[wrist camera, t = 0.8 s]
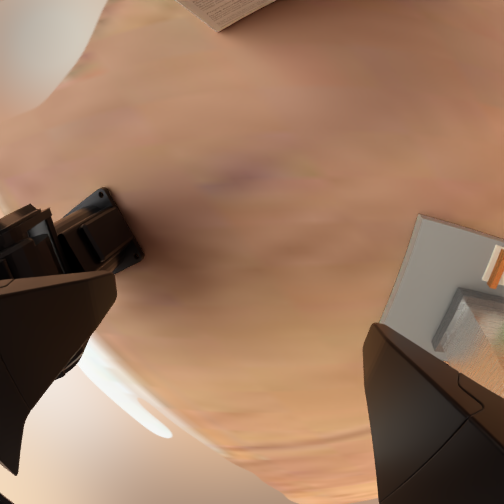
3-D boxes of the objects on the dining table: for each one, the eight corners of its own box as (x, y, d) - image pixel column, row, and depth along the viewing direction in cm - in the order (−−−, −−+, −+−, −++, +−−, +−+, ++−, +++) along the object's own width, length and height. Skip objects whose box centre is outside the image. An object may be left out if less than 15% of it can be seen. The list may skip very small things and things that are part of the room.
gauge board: (369, 343, 23) (375, 383, 19) (418, 213, 18) (441, 238, 14) (523, 360, 21) (538, 389, 17) (573, 265, 16) (598, 289, 12)
